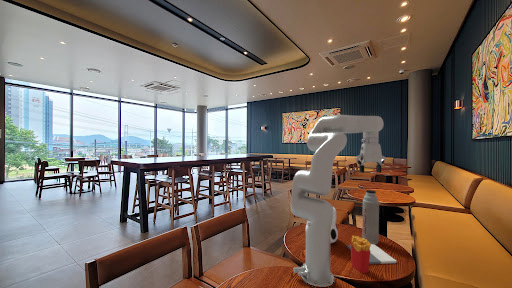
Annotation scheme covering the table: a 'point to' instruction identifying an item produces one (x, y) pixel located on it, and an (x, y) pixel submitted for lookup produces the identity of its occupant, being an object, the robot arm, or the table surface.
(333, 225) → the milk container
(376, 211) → the thermos bottle
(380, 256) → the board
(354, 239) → the french fries
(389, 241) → the table surface
